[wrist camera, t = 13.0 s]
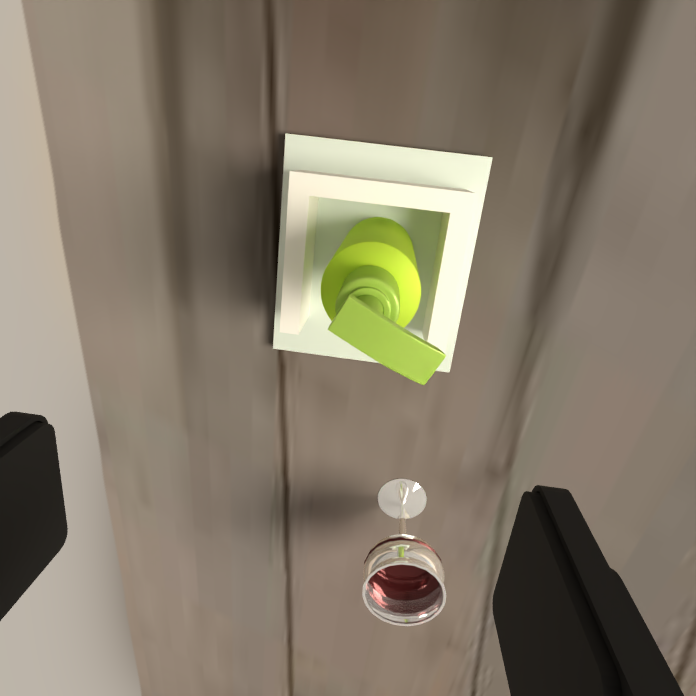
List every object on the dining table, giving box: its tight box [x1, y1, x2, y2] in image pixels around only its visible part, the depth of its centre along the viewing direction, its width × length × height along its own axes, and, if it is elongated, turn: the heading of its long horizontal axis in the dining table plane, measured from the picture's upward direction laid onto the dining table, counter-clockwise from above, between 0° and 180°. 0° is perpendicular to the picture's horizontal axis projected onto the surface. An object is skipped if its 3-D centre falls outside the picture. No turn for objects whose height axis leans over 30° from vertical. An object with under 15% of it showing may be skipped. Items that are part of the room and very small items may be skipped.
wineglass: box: [362, 479, 446, 626], centre depth 45 cm, size 7×7×12 cm
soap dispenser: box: [321, 217, 446, 385], centre depth 32 cm, size 6×7×20 cm
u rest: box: [273, 134, 493, 372], centre depth 39 cm, size 18×16×6 cm
